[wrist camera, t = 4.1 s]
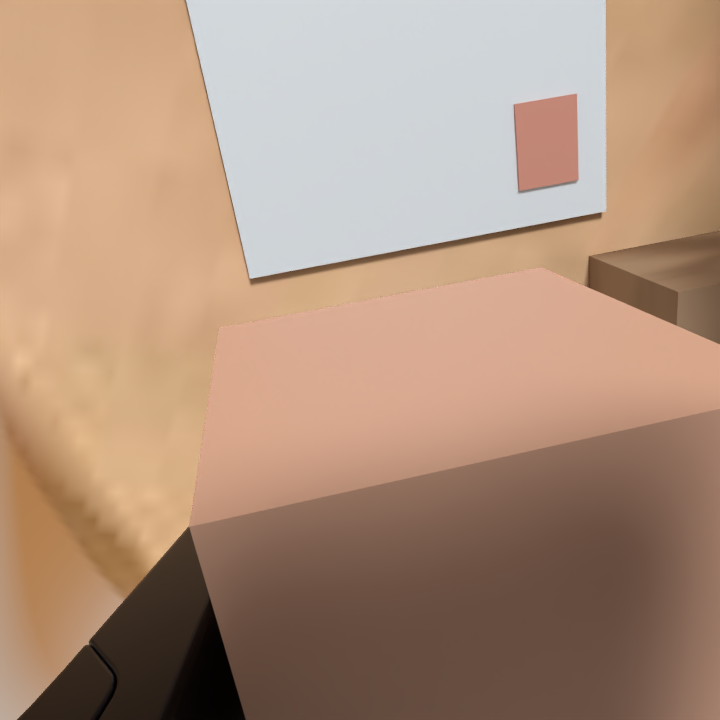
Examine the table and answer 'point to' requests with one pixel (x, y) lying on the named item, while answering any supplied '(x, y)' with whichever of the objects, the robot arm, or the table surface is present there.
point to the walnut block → (666, 281)
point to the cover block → (465, 508)
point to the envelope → (402, 120)
